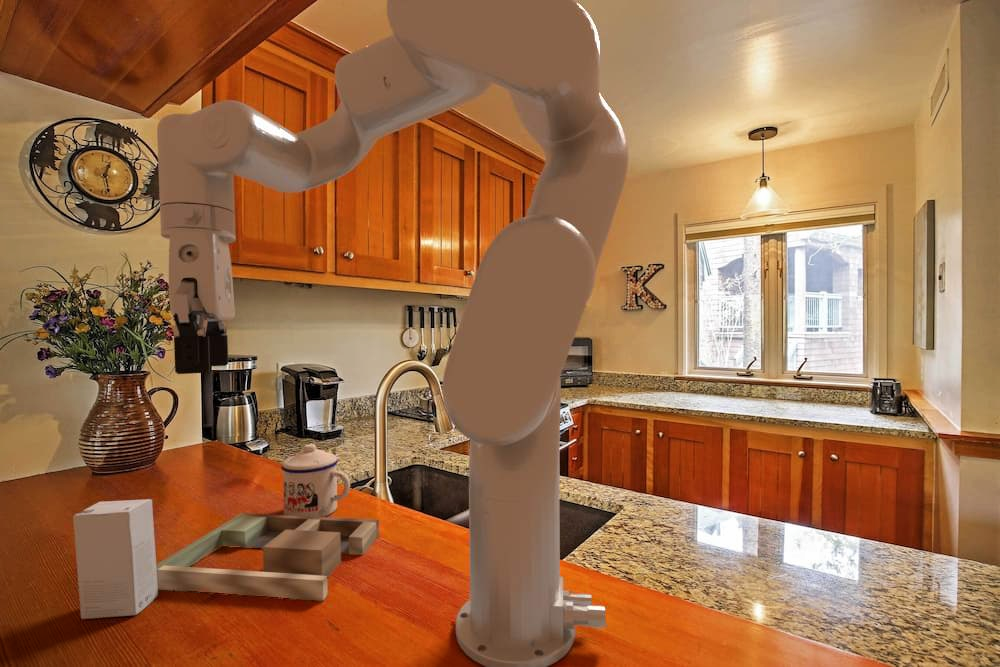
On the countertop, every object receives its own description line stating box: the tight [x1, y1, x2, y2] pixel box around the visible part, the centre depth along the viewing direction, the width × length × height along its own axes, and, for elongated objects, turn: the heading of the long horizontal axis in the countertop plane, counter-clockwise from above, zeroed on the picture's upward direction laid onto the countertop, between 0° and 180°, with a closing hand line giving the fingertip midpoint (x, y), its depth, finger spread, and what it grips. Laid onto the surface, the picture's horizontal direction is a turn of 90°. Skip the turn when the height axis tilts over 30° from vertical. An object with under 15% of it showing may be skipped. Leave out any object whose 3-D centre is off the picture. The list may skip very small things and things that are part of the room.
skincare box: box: [72, 498, 159, 620], centre depth 54 cm, size 6×4×12 cm
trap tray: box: [156, 512, 380, 602], centre depth 65 cm, size 23×17×2 cm
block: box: [262, 530, 342, 578], centre depth 62 cm, size 8×5×4 cm, turn 83°
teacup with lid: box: [281, 443, 351, 517], centre depth 81 cm, size 12×9×12 cm
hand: (204, 369), depth 56 cm, fingers open, 9 cm apart
